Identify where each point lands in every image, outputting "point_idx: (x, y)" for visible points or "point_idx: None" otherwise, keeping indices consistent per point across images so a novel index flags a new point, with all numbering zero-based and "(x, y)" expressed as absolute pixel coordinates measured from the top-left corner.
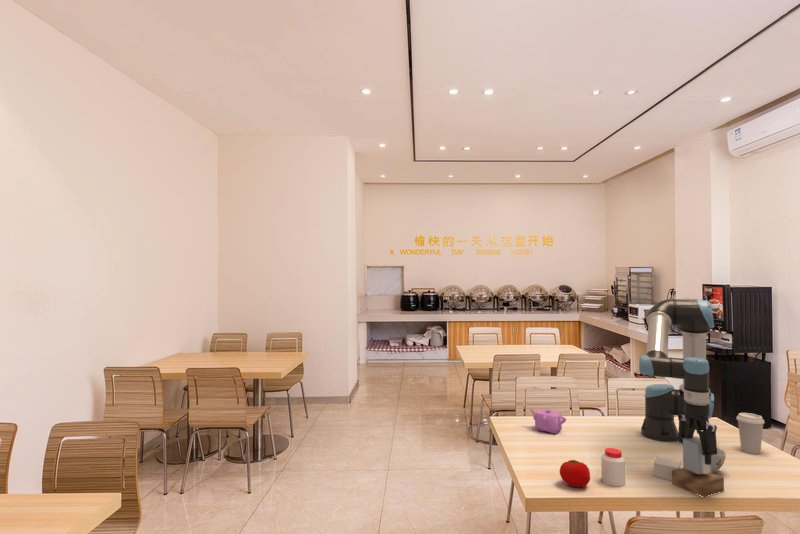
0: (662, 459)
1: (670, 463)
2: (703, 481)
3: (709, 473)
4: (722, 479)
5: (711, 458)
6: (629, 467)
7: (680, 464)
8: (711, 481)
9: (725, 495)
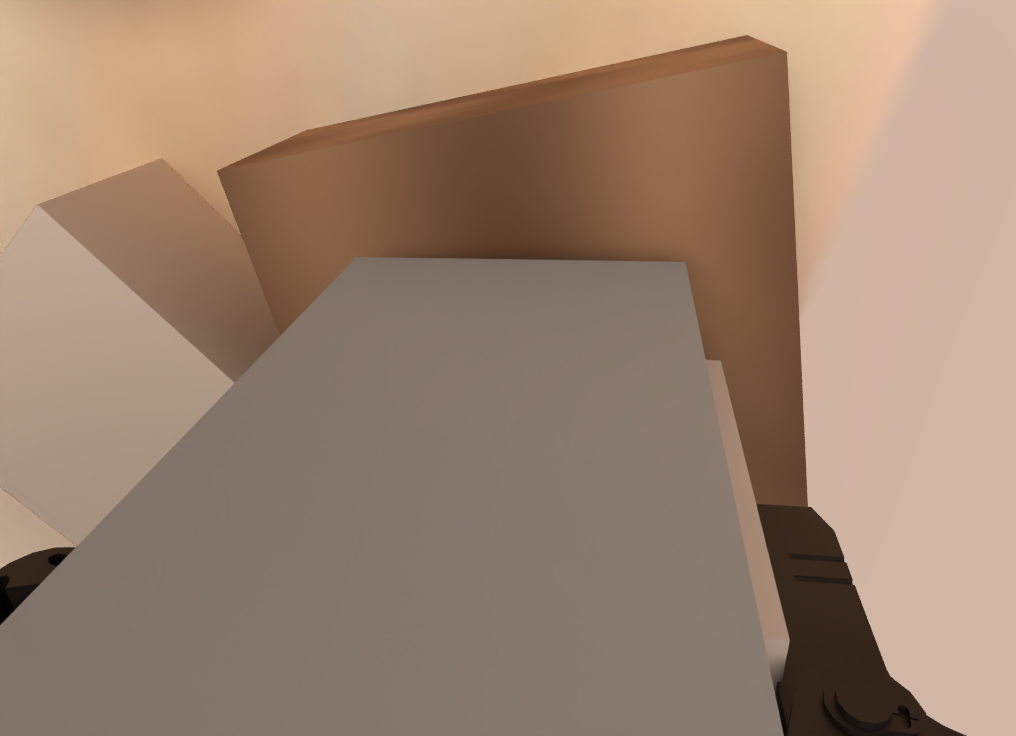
0: (13, 421)
1: (148, 428)
2: (761, 500)
3: (559, 159)
4: (782, 91)
5: (709, 407)
6: (29, 547)
7: (97, 217)
8: (801, 392)
9: (842, 133)
